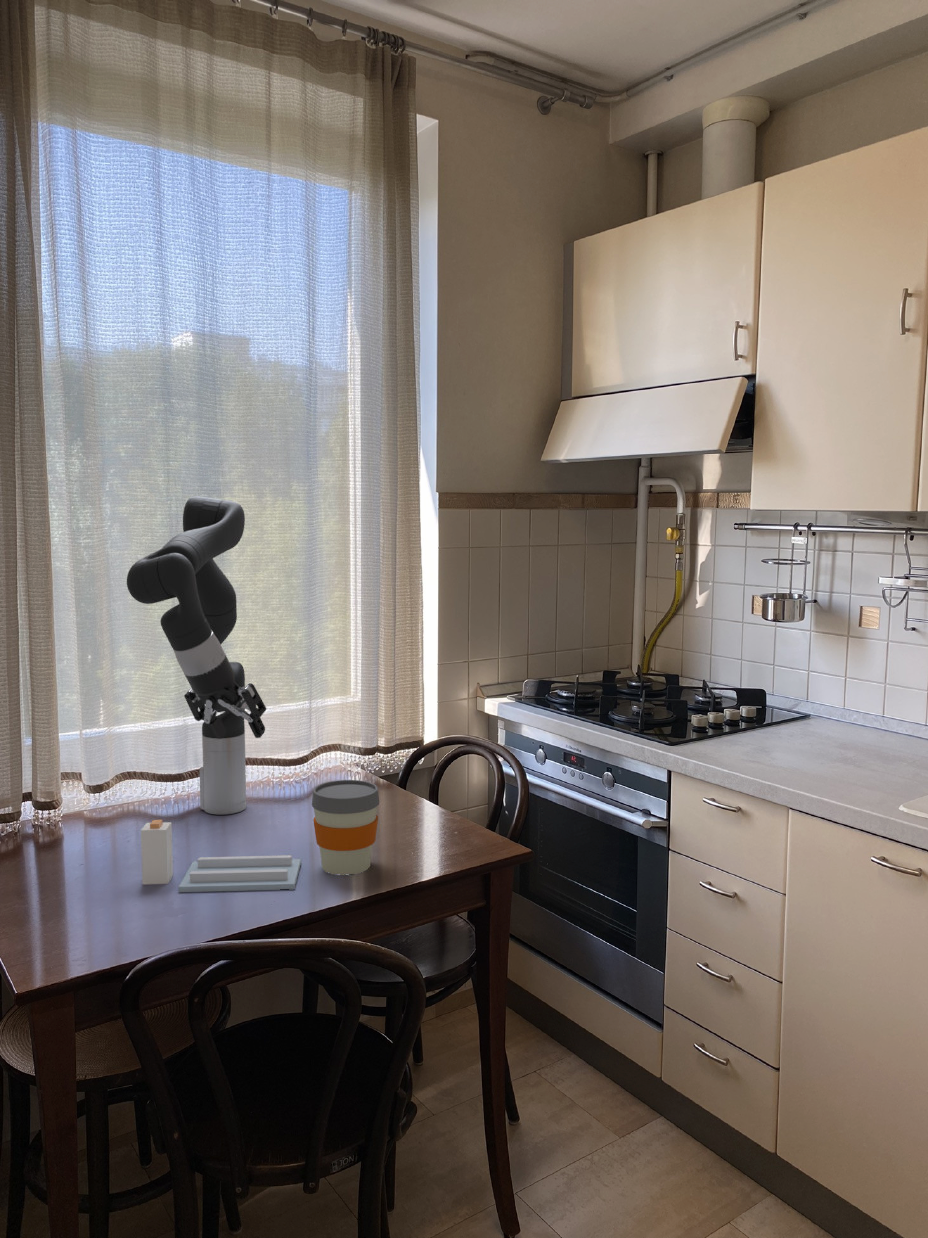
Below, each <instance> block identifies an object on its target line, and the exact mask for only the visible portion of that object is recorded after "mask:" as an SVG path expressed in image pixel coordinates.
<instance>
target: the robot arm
mask: <svg viewBox="0 0 928 1238" xmlns="http://www.w3.org/2000/svg"><path fill="white" fill-rule="evenodd" d="M243 508H244V507H242V505H241V504H239V503H238V502H236V501H232V500H227V499H220V498H213V497H208V496H196V495H194V496H192V497H189V498H188V499H187V501H186V502H185V505H184V507H183V512H182V513H183V514H182V532H180V533H178V534H176V535H175V536H174V537H172V538H171V539H169V540H168V541H167V543H165V544H164V545H163V546H162V548H160V549H158V550H156V551H154V552H152V553H150V554H148V555H145V556H144V557H143V558H141V559H139V560H137V561H136V562H135V563H134V564H132V566H131V567H130V569H129V570H128V573H127V576H126V587H127V590H128V592H129V595H131V597H132V598H133V599H134V600H135V601H137V602H139V603H141V604H144V605H151V604H157V603H160V602H164V601H168V600H171V599H174V598H176V599H177V600H178V604H177V605H174V606H173V607H171V608H170V609H168V610H167V611H165V612H164V613H163V614H162V616H161V618H160V626H161V629H162V631H163V633H164V635H165V637H166V639H167V640H168V642H169V644H170V646H171V648H172V649H173V650H172V651H173V652H174V653H173V654H174V655H175V658H176V661H177V662H178V665H179V667H180V668H181V670H182V672H183V675H184V676H185V678H186V680H187V682H188V684H189V686H190V688H189V689H188V690H187V691H186V693H185V694H184V696H183V697H184V698H185V701H186V703H187V705H188V707H189V709H190V711H191V714H192V715H193V719H194V720H195V721H196V722H200V721H203V723H202V725H201V736H202V737H201V739H202V740H201V741H202V742H201V743H202V766H201V767H200V768H199V798H200V799H199V803H200V806H199V807H200V810H203V811H204V812H205V813H207V814H211V815H231V814H237V813H240V812H242V811H244V810H246V808H247V780H246V779H247V775H246V773H247V771H246V768H247V766H246V734H245V732H246V729H245V721H247V723H248V725H249V727H250V730H251V732H252V735H253V736H254V738H255V739H260V738H262V736H263V735H264V733H265V732H266V727H265V725H264V722H263V720H262V718H261V717H262V716H263V714H265V712H266V710H267V707H266V705H265V703H264V701H263V699H262V698H261V696H260V694H259V693H258V692H259V691H258V689H256V687H255V685H254V684H253V683H251V682H249V683H248V684H247V685H246V683H245V682H246V677H245V675H246V674H245V667H243V663H240V662H237V661H229V659H228V657H227V655H226V653H225V651H224V649H223V647H222V644H223V643H224V641H225V640H226V639H227V638H228V637H229V635H230V634H231V633H232V632H233V631H234V628H235V626H236V623H237V620H238V619H237V618H238V617H237V616H238V612H237V610H238V608H237V606H238V605H237V593H236V591H235V588H234V587H233V585H232V583H231V581H230V580H229V579H228V577H227V576H226V575H225V574H224V572H223V571H222V570H221V568H220V567H219V566H218V564H217V563H216V561H215V560H214V559H215V558H217V557H218V556H221V555H222V554H224V553H226V552H227V551H230V550H231V549H234V548H235V547H237V545H238V544H239V542H240V541H241V539H242V537H243V534H244V530H245V525H246V524H245V523H246V521H245V519H246V516H245V511H244V509H243ZM246 710H247V711H246ZM248 711H249V712H250V713H249V712H248ZM218 713H220V714H218Z"/></svg>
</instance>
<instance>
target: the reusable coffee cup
mask: <svg viewBox="0 0 928 1238" xmlns="http://www.w3.org/2000/svg"><path fill="white" fill-rule="evenodd" d="M311 801H312V802H311V806H312V808H313V810H314V811H313V812H314V817H313V819H312V821H313V826H314V827H313V829H314V834H315V840H316V841H315V842H316V844H317V845H318V847H319V853H320V860H321V861H320V862H321V868H322V870H323V871H324V870H325V871H324V872H325V873H327V872H329V873H331V874H330V875H333V874H340V875H346V874H355V875H357V874H356V873H359V874H361V873H360V872H362V873H364V872H363V871H365V870H367V869H368V868H369V867H371V861H372V851H373V845H374V844H375V842H376V839H377V838H376V837H377V829H378V822H379V816H378V815H377V811H378V806H379V805H380V795H379V787H378V786H377V785H376V784H375V783H372V782H370V781H366V780H358V779H339V780H333V781H332V780H330V781H327V782H322V783H320V784H318V785H316V786H315V787H313V790H312V799H311ZM369 869H370V868H369ZM369 869H368V870H369ZM368 870H367V871H368ZM365 872H366V871H365ZM329 873H328V874H329ZM340 875H339V876H340Z"/></svg>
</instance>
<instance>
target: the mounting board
mask: <svg viewBox="0 0 928 1238" xmlns="http://www.w3.org/2000/svg"><path fill="white" fill-rule="evenodd" d="M292 857H293V856H292V855H288V854H287V855H249V856H247V855H244V856H243V855H242V856H241V855H240V856H210V857H209V856H207V857H206V856H203V857H201V856H199V857H198V858H197V861H196V860H195V861H194V860H193V861H192V863H191V865H190V866H189V868H188V869H187V871H186V874H185V875H184V877H183V878H182V880H181V882H180V883H179V886H178V893H203V892H212V893H213V892H240V891H241V892H242V891H243V892H245V891H246V892H247V891H248V892H249V891H278V890H279V891H281V890H280V889H289V890H295V889H294V888H296V885H295V884H297V881H298V878H299V872H300V870H299V869H301V866H300V865H302V859H301V858H292Z"/></svg>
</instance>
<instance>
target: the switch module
mask: <svg viewBox="0 0 928 1238" xmlns="http://www.w3.org/2000/svg"><path fill="white" fill-rule="evenodd" d="M172 826H173V825H172V822H171V821H170V822H167V821H165V822H163V819H153V820H152V821H151V822H145V825H144V826H142V828H141V830H140V845H141V875H142V877H141V878H142V885H168V884H169V882H170V881H171V880H172V878H173V876H174V863H173V862H174V861H173V857H174V856H173V835H172V834H173V830H172V829H173V827H172Z"/></svg>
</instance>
